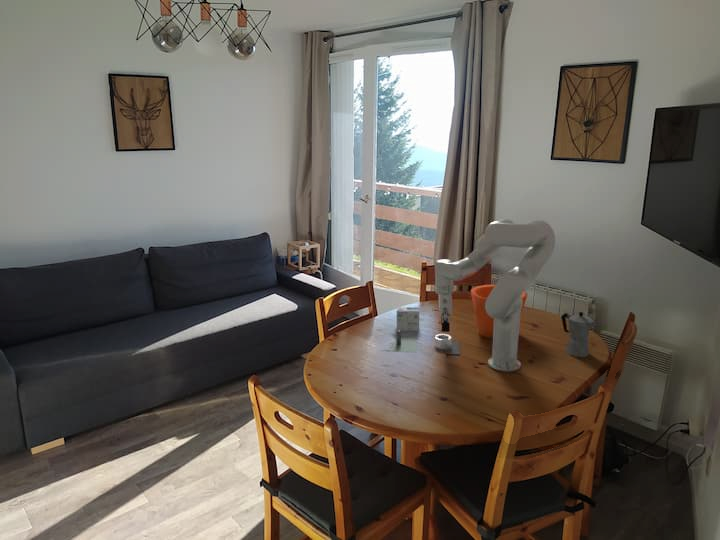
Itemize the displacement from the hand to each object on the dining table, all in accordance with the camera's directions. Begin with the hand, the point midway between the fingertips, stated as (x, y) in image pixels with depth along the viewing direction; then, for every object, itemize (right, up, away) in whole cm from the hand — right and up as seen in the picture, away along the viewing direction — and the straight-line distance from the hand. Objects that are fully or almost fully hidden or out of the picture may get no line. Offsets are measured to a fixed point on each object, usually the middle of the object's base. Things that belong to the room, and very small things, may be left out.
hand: (445, 327), depth 220 cm
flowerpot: (+27, -5, +19) cm, 33 cm away
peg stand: (-20, -9, +6) cm, 22 cm away
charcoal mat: (-1, -9, +3) cm, 10 cm away
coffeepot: (+54, -10, -4) cm, 55 cm away
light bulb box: (-14, -4, +25) cm, 28 cm away
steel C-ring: (-1, -9, +3) cm, 9 cm away
